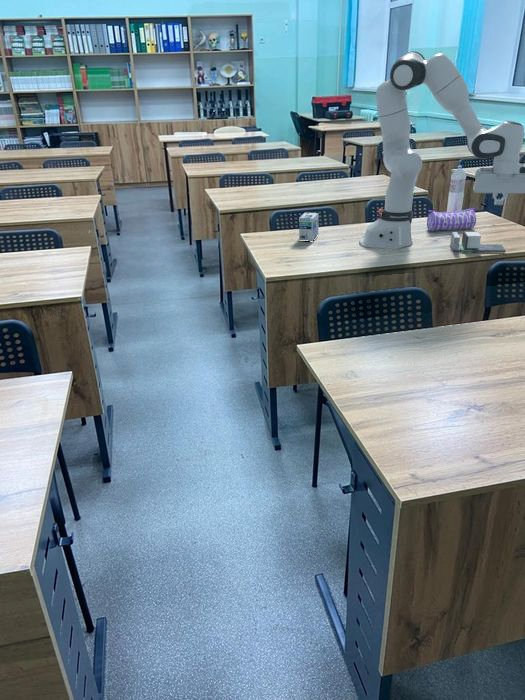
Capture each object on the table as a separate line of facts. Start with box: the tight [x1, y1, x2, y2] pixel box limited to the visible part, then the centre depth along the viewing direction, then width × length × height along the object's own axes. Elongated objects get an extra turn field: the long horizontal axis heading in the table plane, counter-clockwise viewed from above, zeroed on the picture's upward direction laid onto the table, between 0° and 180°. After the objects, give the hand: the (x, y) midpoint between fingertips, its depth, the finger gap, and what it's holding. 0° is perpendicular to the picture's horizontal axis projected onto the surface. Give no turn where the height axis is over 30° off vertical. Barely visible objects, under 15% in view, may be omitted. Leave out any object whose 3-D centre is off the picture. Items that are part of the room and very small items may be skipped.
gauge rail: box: [449, 231, 506, 254], centre depth 212 cm, size 20×8×6 cm, turn 80°
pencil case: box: [426, 207, 477, 232], centre depth 239 cm, size 22×9×10 cm, turn 99°
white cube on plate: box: [461, 230, 482, 249], centre depth 212 cm, size 6×8×5 cm, turn 170°
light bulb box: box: [298, 212, 320, 241], centre depth 234 cm, size 11×7×11 cm, turn 161°
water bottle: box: [446, 165, 467, 212], centre depth 252 cm, size 7×7×25 cm
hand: (498, 204), depth 204 cm, fingers closed
